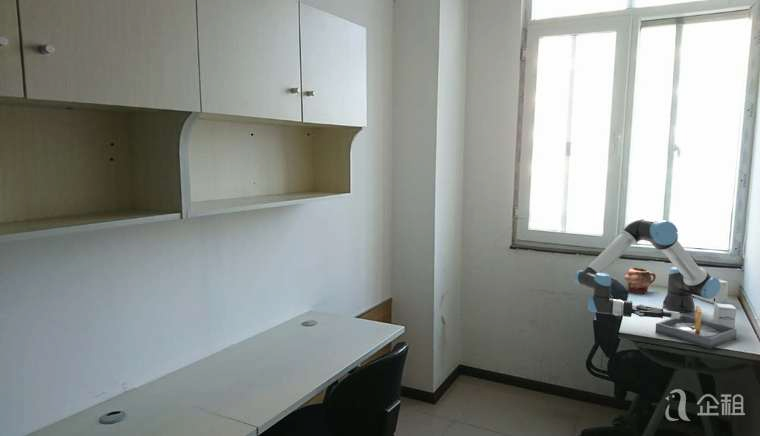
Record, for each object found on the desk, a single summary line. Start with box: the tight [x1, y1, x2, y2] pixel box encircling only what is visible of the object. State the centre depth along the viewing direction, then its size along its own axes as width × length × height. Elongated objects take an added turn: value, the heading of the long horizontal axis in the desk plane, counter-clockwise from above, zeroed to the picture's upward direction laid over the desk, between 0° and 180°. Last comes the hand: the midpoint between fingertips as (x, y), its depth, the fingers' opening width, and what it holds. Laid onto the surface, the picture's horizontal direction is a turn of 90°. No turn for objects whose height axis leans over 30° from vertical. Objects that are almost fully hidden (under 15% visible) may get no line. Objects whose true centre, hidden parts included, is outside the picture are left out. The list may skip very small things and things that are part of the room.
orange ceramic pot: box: [624, 267, 657, 294], centre depth 313 cm, size 20×12×14 cm, turn 104°
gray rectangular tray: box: [654, 314, 738, 349], centre depth 238 cm, size 24×24×4 cm
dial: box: [674, 305, 717, 338], centre depth 237 cm, size 18×17×12 cm
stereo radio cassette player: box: [692, 278, 729, 305], centre depth 296 cm, size 21×8×20 cm, turn 13°
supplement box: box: [712, 303, 737, 328], centre depth 244 cm, size 7×7×13 cm
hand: (679, 315), depth 236 cm, fingers closed
